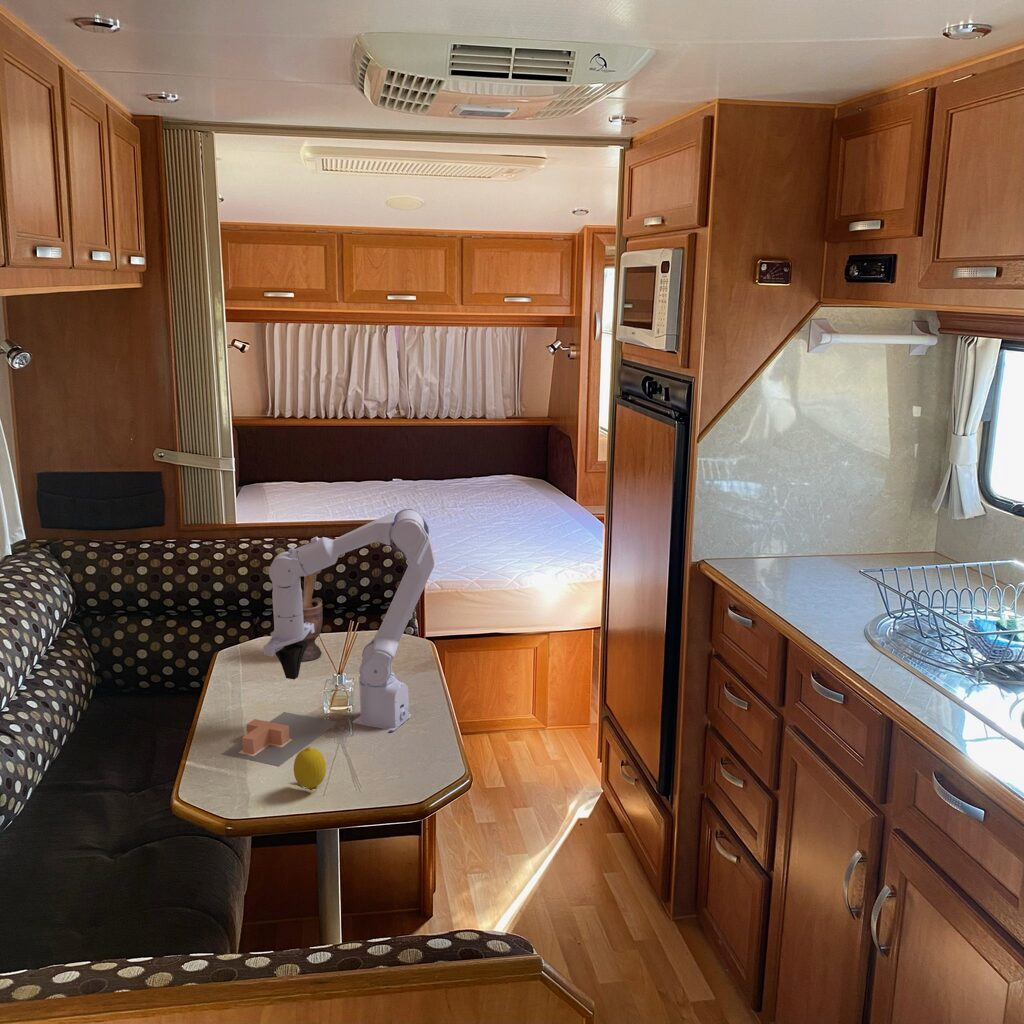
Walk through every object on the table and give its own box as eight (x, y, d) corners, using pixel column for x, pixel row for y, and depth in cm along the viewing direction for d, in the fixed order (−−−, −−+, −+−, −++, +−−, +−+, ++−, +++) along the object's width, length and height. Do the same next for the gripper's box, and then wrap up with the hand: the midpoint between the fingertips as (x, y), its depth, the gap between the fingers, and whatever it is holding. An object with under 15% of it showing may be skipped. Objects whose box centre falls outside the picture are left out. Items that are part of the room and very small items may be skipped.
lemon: (313, 778, 175) (310, 737, 173) (333, 788, 171) (331, 746, 170) (288, 790, 171) (285, 748, 169) (308, 800, 167) (306, 757, 165)
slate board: (338, 724, 196) (338, 722, 196) (279, 769, 178) (279, 766, 178) (284, 714, 201) (284, 711, 201) (221, 756, 183) (221, 753, 183)
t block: (255, 733, 191) (254, 719, 191) (289, 740, 188) (288, 725, 188) (231, 749, 184) (230, 734, 184) (266, 756, 181) (265, 742, 181)
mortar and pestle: (287, 646, 239) (282, 568, 235) (322, 643, 241) (319, 566, 237) (288, 663, 228) (283, 582, 224) (325, 660, 230) (321, 579, 226)
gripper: (292, 600, 200) (295, 662, 203) (248, 622, 187) (253, 688, 190) (321, 604, 197) (324, 666, 200) (279, 626, 184) (283, 693, 187)
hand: (291, 677), depth 195 cm, fingers closed
